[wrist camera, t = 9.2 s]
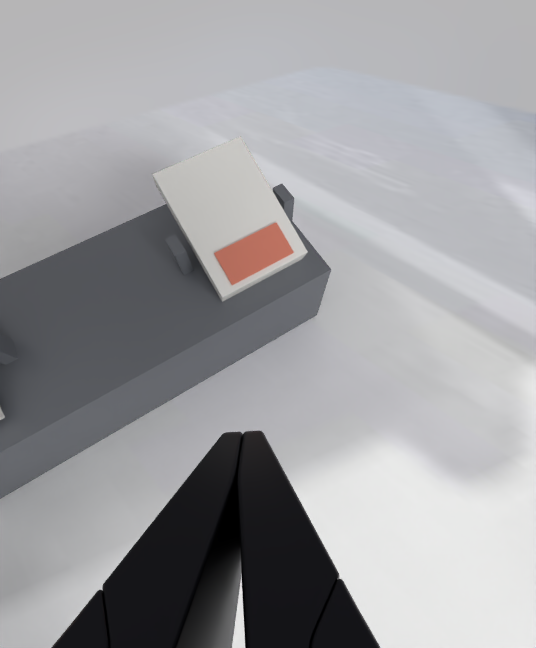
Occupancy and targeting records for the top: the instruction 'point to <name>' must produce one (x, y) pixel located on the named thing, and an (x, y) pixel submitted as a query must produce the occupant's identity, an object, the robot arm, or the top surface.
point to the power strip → (126, 335)
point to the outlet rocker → (230, 217)
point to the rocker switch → (1, 414)
